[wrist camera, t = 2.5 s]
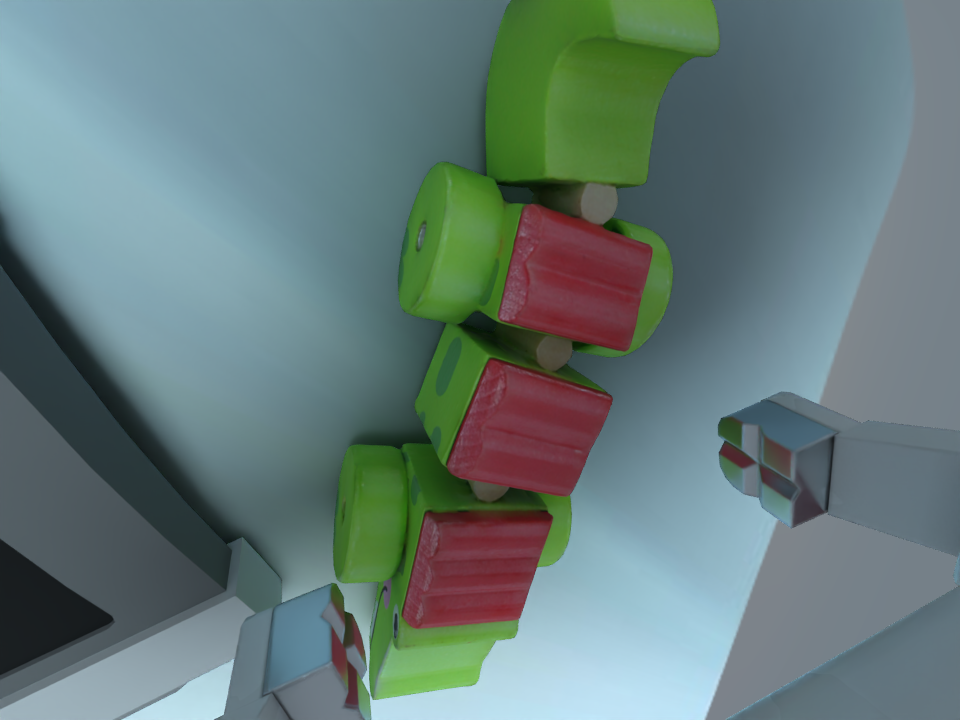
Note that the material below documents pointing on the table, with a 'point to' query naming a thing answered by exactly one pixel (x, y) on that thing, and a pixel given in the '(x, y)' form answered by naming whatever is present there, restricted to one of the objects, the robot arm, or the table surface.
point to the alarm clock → (100, 551)
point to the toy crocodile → (514, 333)
